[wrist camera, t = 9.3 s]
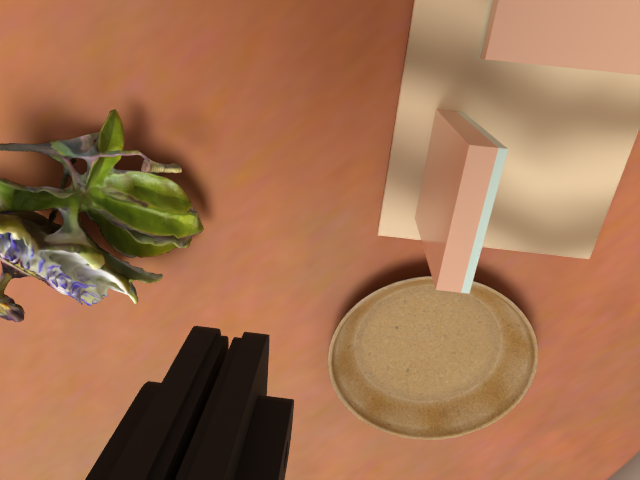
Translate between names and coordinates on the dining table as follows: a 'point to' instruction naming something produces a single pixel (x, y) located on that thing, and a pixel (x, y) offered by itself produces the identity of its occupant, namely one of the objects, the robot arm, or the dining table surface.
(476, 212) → the tile
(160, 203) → the passion flower
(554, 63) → the tile
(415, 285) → the plant saucer
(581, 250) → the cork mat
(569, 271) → the dining table surface
